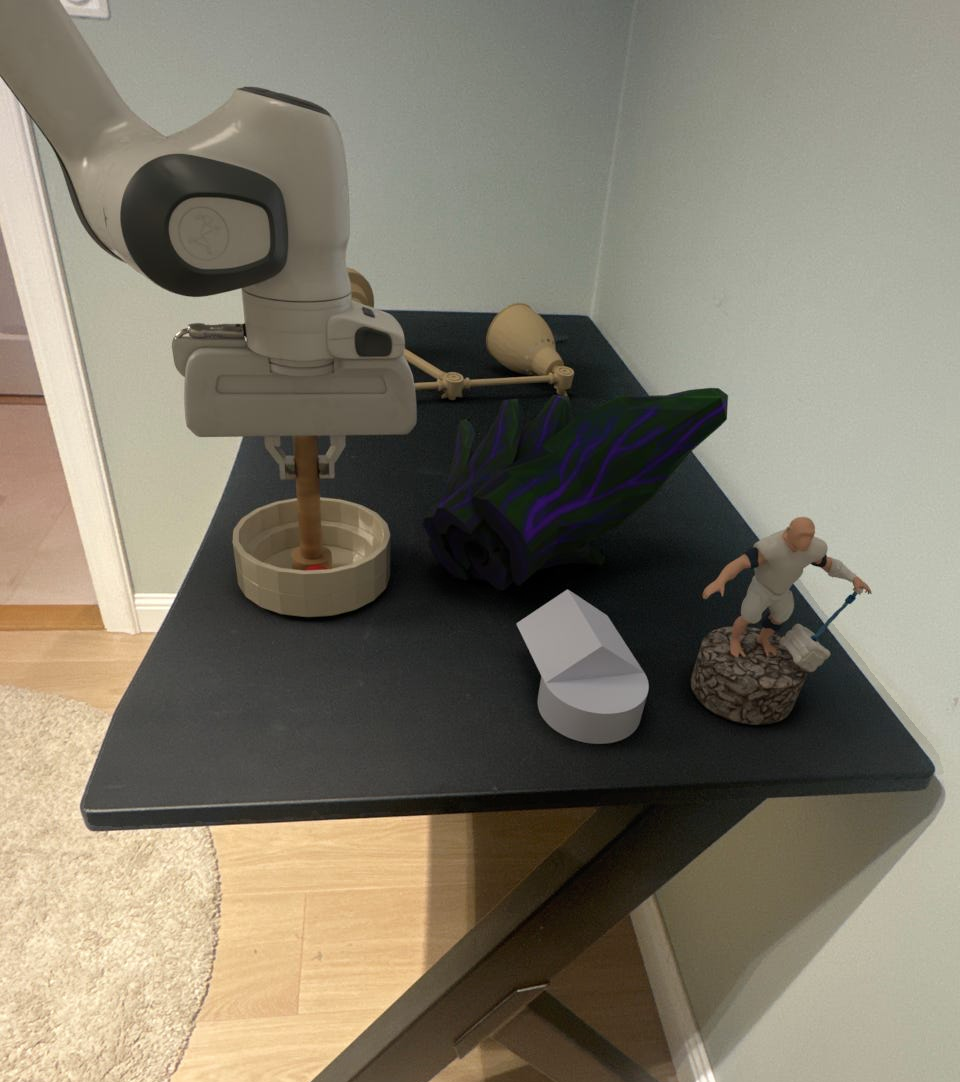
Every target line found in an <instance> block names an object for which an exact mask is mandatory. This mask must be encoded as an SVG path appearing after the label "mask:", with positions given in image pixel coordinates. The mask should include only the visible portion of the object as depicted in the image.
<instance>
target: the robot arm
mask: <svg viewBox="0 0 960 1082" xmlns="http://www.w3.org/2000/svg"><path fill="white" fill-rule="evenodd" d="M0 78H1V79H2V81H3V82H4V83H5V85H6V86H7V88H8V89H9V91H10V92H11V93H12V95H13V96H14V97H15V98H16V100H17V101H18V102H19V104H20V105H21V106H22V108H23V109H24V111H25V112H26V113H27V114H28V116H29V117H30V119H31V120H32V121H33V122H34V124H35V126H36V127H37V129H38V130H39V131H40V132H41V134H42V135H43V137H44V138H45V139H46V141H47V142H48V144H49V145H50V147H51V148H52V151H53V152H54V154H55V157H56V159H57V161H58V164H59V167H60V169H61V172H62V174H63V178H64V181H65V185H66V187H67V190H68V193H69V194H68V195H69V197H70V200H71V203H72V206H73V208H74V211H75V213H76V215H77V217H78V219H79V221H80V223H81V225H82V226H83V228H84V230H85V231H86V233H87V234H88V235H89V237H90V238H91V239H92V240H93V241H94V242H95V243H96V245H97V246H98V247H99V248H101V249H102V250H103V251H105V252H106V253H107V254H108V255H110V256H111V257H112V258H114V259H116V260H118V261H120V262H122V263H124V264H126V265H128V266H129V267H131V268H132V269H133V270H134V271H135V272H137V273H139V274H140V275H142V276H143V277H145V278H146V279H147V280H148V281H150V282H151V283H153V284H154V285H155V286H158V287H159V288H161V289H163V290H165V291H167V292H169V293H172V294H175V295H180V296H183V297H190V298H202V297H209V296H215V295H219V294H225V293H229V292H232V291H236V290H237V291H238V290H240V289H241V298H242V299H241V301H242V309H243V319H244V323H218V324H206V323H203V322H194V323H189V324H188V325H187V327H185V328H183V329H180V330H179V331H177V333H176V334H174V337H173V339H172V341H171V351H172V357H173V363H174V367H175V368H176V370H177V372H178V373H179V374H180V375H181V376H182V377H183V378H184V385H183V388H184V389H183V403H184V404H183V405H184V418H185V425H186V427H187V429H189V430H190V431H191V433H192V434H193V435H194V436H196V437H197V438H232V437H233V438H237V437H238V438H241V437H249V438H250V437H263V438H264V447H265V449H266V451H268V453H269V454H270V456H271V457H272V458H273V460H274V461H275V462H276V464H278V468H279V470H278V471H279V480H280V481H285V480H287V481H288V480H296V471H295V460H294V455H286V454H285V452H284V451H283V449H282V448H281V445H282V443H281V437H293V436H317V437H321V436H322V437H326V436H327V437H328V439H329V443H330V446H329V448H328V450H327V451H326V453H325V454H318V467H319V480H320V479H321V480H322V479H324V480H325V479H326V480H327V479H335V478H336V477H335V476H336V473H335V472H336V469H335V463H336V462H337V461H338V459H339V458H340V456H341V455H342V453H343V452H344V450H345V448H346V446H347V441H346V439H347V436H396V435H397V436H400V435H401V436H403V435H406V436H407V435H408V434H410V433H411V432H412V430H413V429H414V428H415V426H416V425H417V422H418V421H417V420H418V408H417V396H416V395H417V394H416V390H415V385H414V383H415V380H414V375H413V373H412V369H411V367H410V365H409V364H410V363H409V362H408V361H407V360H406V358H405V356H404V355H403V353H404V349H406V340H405V339H406V338H405V332H404V330H403V327H402V326H401V323H399V322H398V320H397V319H396V317H394V316H393V315H392V314H390V313H388V312H387V311H384V310H380V309H377V308H375V307H374V308H372V307H369V306H366V305H364V304H361V303H358V302H355V301H353V300H351V283H350V279H349V276H348V272H347V267H348V266H347V257H346V256H347V250H348V249H347V248H348V244H349V240H350V236H351V209H350V191H349V178H348V167H347V159H346V158H347V157H346V152H345V147H344V141H343V137H342V133H341V130H340V127H339V125H338V122H337V120H336V119H335V118H334V117H333V116H332V114H331V113H330V112H329V111H328V110H326V109H325V108H324V107H322V106H321V105H319V104H317V103H315V102H312V101H309V100H306V99H303V98H300V97H297V96H294V95H289V94H286V93H284V92H283V93H282V92H277V91H273V90H271V89H267V88H262V87H258V86H243V87H238V88H236V89H234V91H233V92H232V94H231V96H230V97H229V98H228V99H227V101H225V102H224V103H223V104H222V105H220V106H219V107H218V108H217V109H215V110H214V111H212V112H211V113H210V114H208V115H207V116H205V117H203V118H202V119H201V120H199V121H198V122H195V123H194V124H192V125H190V126H188V127H185V128H184V129H182V130H180V131H177V132H175V133H172V134H168V135H163V134H162V133H161V132H159V131H158V130H156V128H153V127H152V126H150V125H149V124H148V123H147V122H146V121H144V120H143V119H142V118H141V117H140V116H139V115H137V114H136V113H135V112H134V111H133V110H132V109H131V108H130V106H129V105H128V104H127V103H126V102H125V100H124V99H123V98H122V97H121V94H120V93H119V92H118V90H117V89H116V87H115V85H114V84H113V82H112V81H111V79H110V78H109V76H108V74H107V73H106V72H105V70H104V68H103V66H102V64H101V63H100V62H99V60H98V59H97V57H96V56H95V54H94V52H93V51H92V49H91V47H90V46H89V44H88V42H87V41H86V40H85V38H84V36H83V35H82V33H81V31H80V30H79V29H78V27H77V25H76V24H75V22H74V21H73V19H72V17H71V16H70V14H69V12H68V11H67V10H66V8H65V7H64V5H63V3H62V2H61V0H0ZM187 334H188V336H187ZM185 335H186V336H185Z"/></svg>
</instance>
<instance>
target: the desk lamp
mask: <svg viewBox="0 0 960 1082" xmlns="http://www.w3.org/2000/svg"><path fill="white" fill-rule="evenodd" d="M346 267H347V272H348V276H349V279H350V283H351V300H353V301H355V302H358V303H361V304H364V305H366V306H369V307H372V308H375V296H374V292H373V288H372V286H371V284H370V282H369V280H367V278H366V277H365V276H363V274H361V272H359V271H358V270H356V269H355V268H351V267H348V266H346ZM485 337H486V338H485V344H486V349H487V352H488V354H489V355H490V356H491V357H492V358H494V359H495V360H496V361H498V362H499V363H500V364H501V365H502V366H503V367H505V368H506V369H507V370H509V371H511V372H514V373H517V374H520V375H524V376H517V377H516V376H515V377H514V376H513V377H497V378H495V377H494V378H481V379H479V378H478V379H470V377H465V378H464V375H462V374H461V373H459V372H455V371H450V372H446V371H443V370H441V369H439V368H438V367H436V366H434V365H433V364H431V363H429V362H428V361H426V360H425V359H423V358H422V357H420V356H418V355H416V354H414V353H413V352H411V350H408V349H407V348H405V349H404V353H403V355H404V356H405V358H406V360H407V362H408V363H409V364H411V365H413V366H414V367H416V368H418V369H419V370H421V371H422V372H424V373H426V374H427V375H429V376H430V377H432V378H433V379H435V380H436V381H431V382H430V381H428V382H414V385H415V391H424V390H426V391H427V390H437V391H438V392H441V391H442V390H443V394H442V395H441V399H446V398H447V399H448V400H451V401H454V400H456V399H457V398H463V389H466V390H470V389H471V387H472V388H473V387H487V386H489V387H490V386H505V385H519V384H520V385H521V384H536V383H548V384H549V385H553V388H554V389H556V394H557V395H562V396H568V393H567V391H566V390H569V389H571V388H572V385H573V379H574V375H575V371H574V369H573V368H571V367H569V366H565V363H564V361H563V359H562V357H561V356H560V354H559V353H558V352H557V348H556V341H555V338H554V335H553V331H552V330H551V328H550V326H549V325H548V323H547V322H546V321H545V319H544V318H543V317H542V316H541V315H540V314H538V313H537V312H536V311H535V310H534V309H533V308H532V307H531V306H530V305H529V304H527V303H524V302H515V303H512V304H509V305H507V306H506V307H504V308H502V310H500V311H499V312H497V314H496V315H495V316H494V318H493V319H492V321H491V323H490V325H489V326H488V329H487V332H486V336H485ZM525 375H526V376H525Z"/></svg>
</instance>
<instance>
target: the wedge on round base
mask: <svg viewBox="0 0 960 1082" xmlns="http://www.w3.org/2000/svg"><path fill="white" fill-rule="evenodd" d="M516 627H517V628H518V630H519V632H520V635H521V637H522V639H523V641H524V643H525V645H526V647H527V649H528V650H529V654H530V656H531V658H532V659H533V662H534V664H535V666H536V668H537V670H538V672H539V674H540V676H541V677H540V682H539V689H538V694H537V709H538V712H539V715H540V716H541V717H542V719H543V721H544V722H545V723H546V724H547V725H548V726H549V727H550V728H552V729H553V730H554V731H555V732H557V733H559V734H560V735H562V736H563V737H566V738H568V739H571V740H574V741H577V742H582V743H584V744H585V743H586V744H592V745H593V744H594V745H605V744H613V743H616V742H617V743H618V742H620V741H622V740H625V739H626V738H628V737H631V735H633V734H634V733H635V732H636V730H638V727H639V725H640V723H641V720H642V714H643V712H644V707H645V706H646V701H647V697H648V693H649V688H650V685H649V679H648V677H647V674H646V673H645V671H644V669H643V668H642V667H641V664H640V663H639V662H638V660H637V659H636V657H635V656H634V654H633V652H632V651H631V650H630V648H629V647H628V645H627V644H626V641H624V639H623V637H622V636H621V634H620V633H619V631H618V630H617V628H616V627H615V625H614V623H613V622H612V621H611V619H610V617H609V616H608V614H606V613H604V612H602V611H601V610H599V609H598V608H597V607H595V606H593V605H592V604H591V603H589V602H588V601H586V600H584V598H583V597H580V596H579V595H578V594H576V593H575V592H572V591H571V590H569V589H566V590H564V591H563V592H560V594H558V595H557V596H555V597H554V598H552V599H551V600H549V601H548V602H546V603H545V604H543V605H542V606H540V607H539V608H537V609H536V610H535V611H533V612H531V613H530V614H528V615H527V616H526V617H524V618H522V619H521V620H519V621H518V622H516Z"/></svg>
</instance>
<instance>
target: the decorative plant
mask: <svg viewBox="0 0 960 1082" xmlns="http://www.w3.org/2000/svg"><path fill="white" fill-rule="evenodd" d="M728 402H729V394H727V393H726V392H725V391H723V390H722V389H720V388H719V387H704V388H693V389H686V390H682V391H679V392H673V393H669V394H663V395H662V394H661V395H660V394H659V395H656V394H655V395H621V396H620V395H619V396H615V397H614V398H611V399H610V400H607V401H605V402H604V403H602V404H599V405H598V406H595V407H593V408H592V409H589V410H587V411H585V412H583V413H581V414H579V415H577V416H576V417H575V418H574V419H573V420H571V400H570V397H569V395H567V396H564V395H559V394H552V395H551V397H550V398H549V399H548V401H547V402H546V404H545V405H544V406H543V408H542V409H541V411H540V412H539V413H538V414H537V416H536V417H535V418H534V419H533V420H532V421H531V422H530V423H529V424H527V425H525V426H524V427H523V426H522V424H523V423H522V421H523V420H522V419H523V418H522V413H521V409H520V405H519V398H512V399H504V400H502V401H501V404H500V407H499V410H498V412H497V413H498V414H497V415H496V417H495V419H494V420H493V421H492V424H491V426H490V428H489V430H488V431H487V433H486V435H485V436H484V437H483V439H482V440H481V441H480V443H479V444H478V446H477V447H476V449H475V445H474V441H475V437H476V432H475V429H474V425H473V424H472V423H471V422H470V421H471V419H470V418H465V419H462V420H459V423H458V425H457V430H456V431H457V432H456V442H455V446H454V447H455V448H454V454H453V459H452V462H451V466H450V469H449V473H448V476H447V480H446V483H445V487H444V489H442V490H443V491H442V492H441V493H440V495H439V498H438V499H437V501H436V502H435V504H434V505H433V506H432V507H431V509H430V511H428V513H427V514H426V516H425V517H424V519H423V522H422V525H423V528H424V529H425V531H426V534H427V536H428V538H429V540H428V547H429V550H430V552H431V554H432V556H433V557H434V558H435V559H436V560H437V561H438V562H439V563H440V564H441V565H442V566H443V567H444V568H445V569H446V570H447V571H448V572H449V573H450V574H451V575H452V576H453V577H454V578H456V579H461V580H463V581H468V580H470V579H471V578H472V579H473V580H485V581H486V582H488V583H489V584H490V585H491V586H493V588H495V589H496V590H498V591H505V590H506V589H507V588H509V587H510V586H511V585H512V584H513V583H515V585H516V586H521V585H522V584H523V583H525V582H526V581H527V580H528V579H529V578H530V577H532V576H533V575H534V574H535V573H536V572H538V571H540V570H544V569H547V568H552V567H555V566H557V565H565V564H592V565H598V566H603V565H604V560H605V557H606V556H605V553H604V550H603V549H601V550H598V549H597V548H596V547H595V546H593V545H592V544H591V543H589V541H591V540H593V539H595V538H597V537H599V536H601V535H603V534H606V533H608V532H609V531H611V530H614V529H615V528H618V527H619V526H620V525H622V524H623V523H625V521H626V520H628V519H629V518H630V517H632V515H634V514H635V513H636V512H637V511H638V510H639V509H641V508H642V507H644V506H645V505H646V504H647V503H649V502H650V501H651V500H652V499H653V497H654V496H655V495H656V494H657V492H659V491H660V489H661V488H662V487H663V486H664V484H666V482H667V481H668V480H669V479H670V477H671V476H672V475H673V474H674V472H675V471H676V470H677V469H678V467H680V465H681V464H682V463H683V462H684V460H686V458H687V457H688V456H689V454H690V453H691V452H693V451H694V450H695V449H696V448H697V447H699V445H701V444H702V443H703V442H704V441H705V440H707V438H709V437H710V436H711V435H712V434H714V432H715V431H717V430H718V429H719V428H720V427H722V425H723V424H725V422H726V421H727V420H728V407H729V406H728V405H729V403H728Z"/></svg>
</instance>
